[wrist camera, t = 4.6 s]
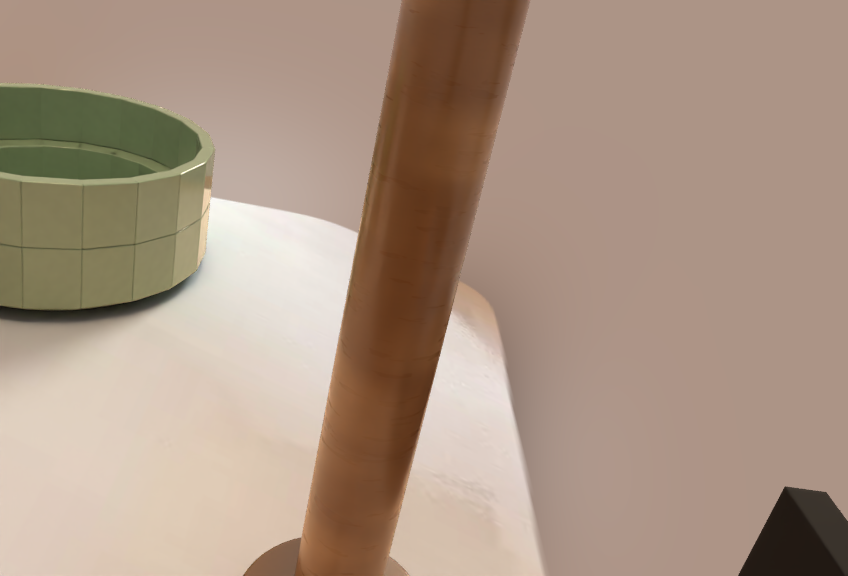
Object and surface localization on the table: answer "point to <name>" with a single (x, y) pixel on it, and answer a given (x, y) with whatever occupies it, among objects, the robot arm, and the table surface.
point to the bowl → (97, 197)
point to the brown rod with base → (403, 278)
